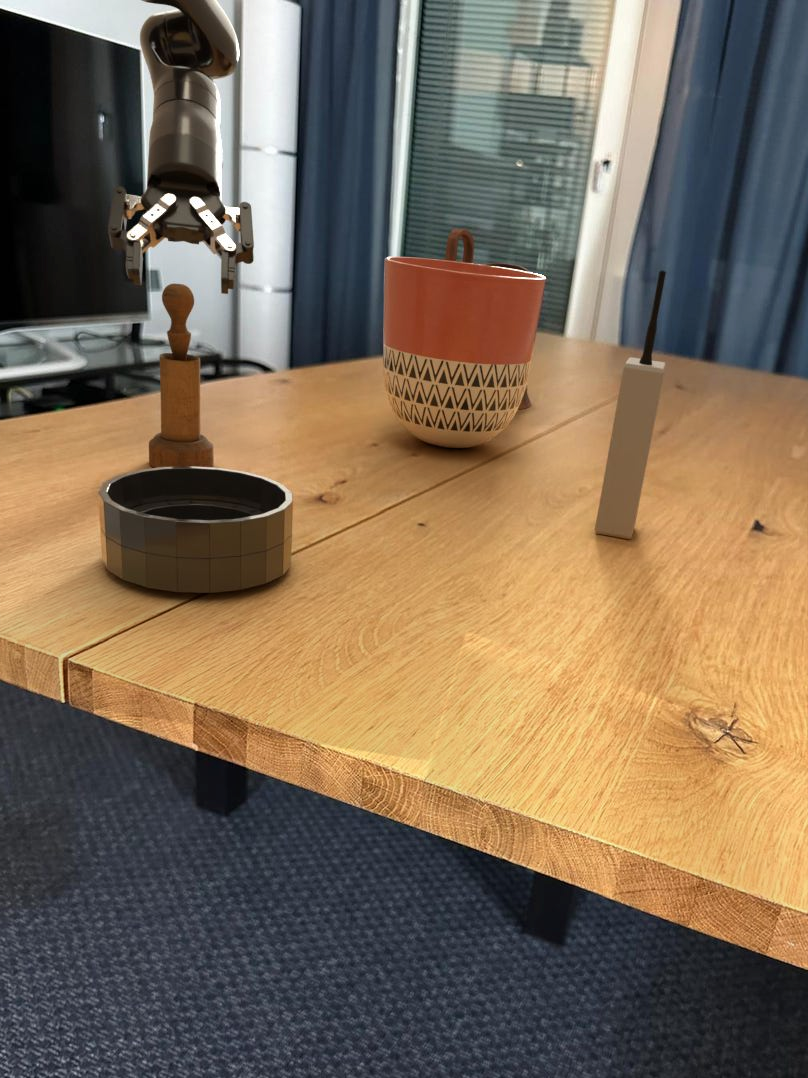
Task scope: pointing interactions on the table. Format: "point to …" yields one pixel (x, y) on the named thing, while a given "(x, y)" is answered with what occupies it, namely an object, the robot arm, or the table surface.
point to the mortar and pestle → (179, 392)
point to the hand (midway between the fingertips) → (181, 284)
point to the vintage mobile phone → (631, 435)
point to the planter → (457, 346)
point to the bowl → (195, 528)
